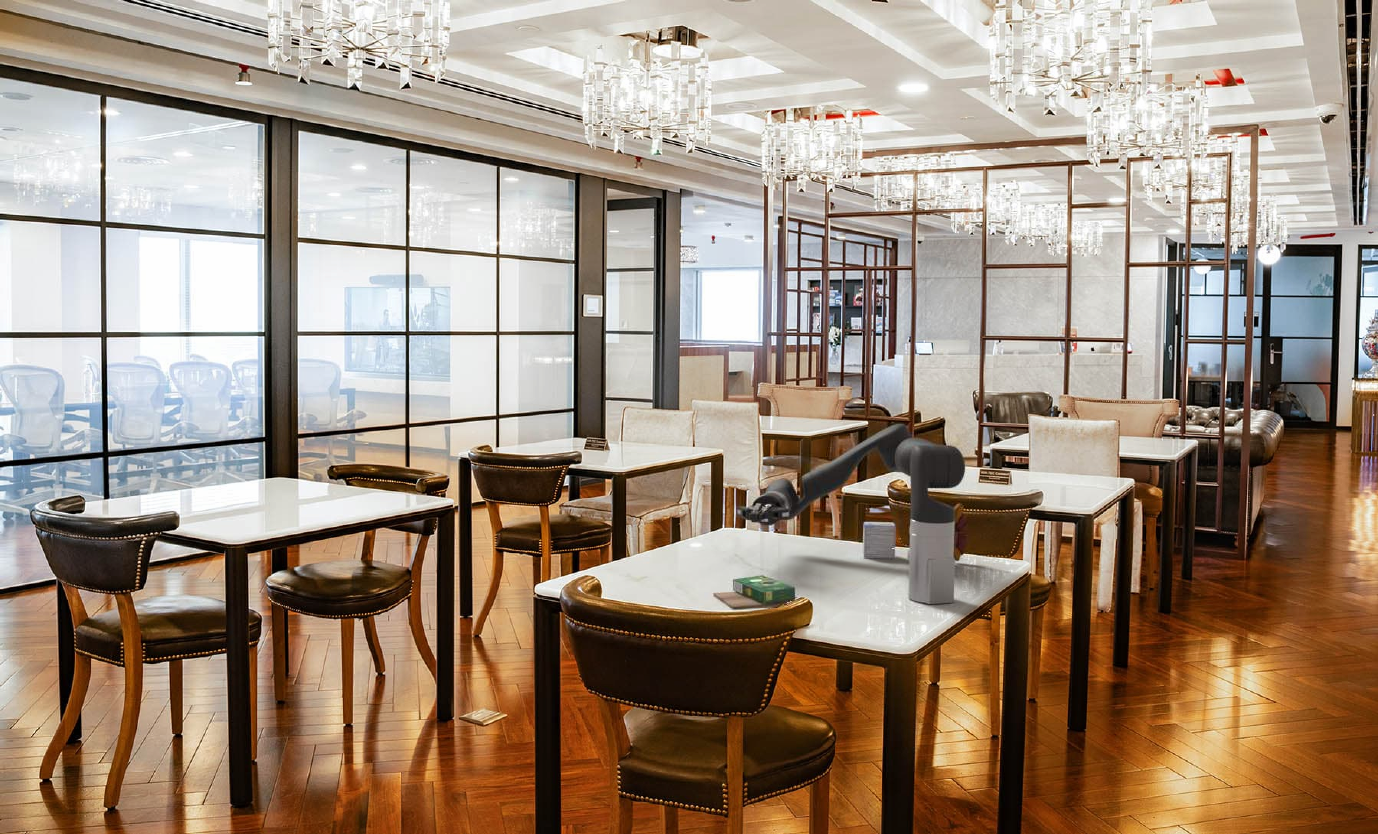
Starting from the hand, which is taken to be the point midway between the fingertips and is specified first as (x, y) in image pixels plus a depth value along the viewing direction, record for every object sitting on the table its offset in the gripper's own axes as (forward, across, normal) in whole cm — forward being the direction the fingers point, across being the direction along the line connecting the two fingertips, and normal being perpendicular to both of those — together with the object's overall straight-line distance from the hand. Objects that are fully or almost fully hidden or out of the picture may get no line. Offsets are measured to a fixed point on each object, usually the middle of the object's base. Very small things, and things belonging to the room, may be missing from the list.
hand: (754, 517), depth 248 cm
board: (+16, -5, -15) cm, 23 cm away
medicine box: (-36, -24, -14) cm, 46 cm away
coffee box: (+10, -1, -13) cm, 16 cm away
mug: (-32, -39, -14) cm, 53 cm away
